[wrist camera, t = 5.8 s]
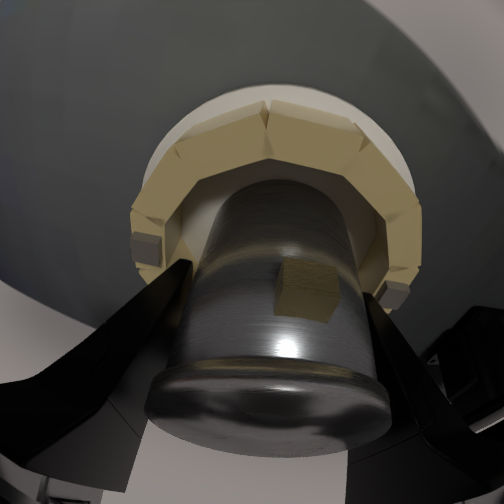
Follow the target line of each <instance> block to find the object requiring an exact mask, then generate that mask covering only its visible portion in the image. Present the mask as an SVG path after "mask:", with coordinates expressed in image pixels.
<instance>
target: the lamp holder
mask: <svg viewBox="0 0 504 504" xmlns="http://www.w3.org/2000/svg"><path fill="white" fill-rule="evenodd" d="M274 179H281V180H292V181H297V182H301V183H304V184H307V185H309V186H312V187H314V188H316V189H317V190H319V191H321V192H323V193H324V194H325V195H326V196H328V197H329V198H330V199H331V200H332V201H333V202H334V203H335V204H336V206H337V207H338V209H339V210H340V212H341V214H342V216H343V218H344V221H345V224H346V227H347V231H348V235H349V239H350V243H351V246H352V250H353V254H354V258H355V263H356V267H357V271H358V275H359V280H360V284H361V289H362V292H368V293H371V294H372V295H373V296H374V298H375V299H376V300H377V301H378V303H379V304H380V305H381V307H382V308H383V309H384V311H385V312H386V313H388V314H389V313H390V311H391V310H392V309H394V310H398V309H399V307H400V306H401V305H402V303H403V302H404V300H405V299H406V298H407V296H408V295H409V294H410V289H409V285H410V283H411V282H412V281H413V279H414V278H415V276H416V275H417V273H418V272H419V269H418V267H417V266H421V248H422V213H421V206H420V204H419V203H418V201H419V200H418V198H417V197H416V196H415V189H414V185H413V181H412V178H411V174H410V171H409V169H408V167H407V165H406V162H405V160H404V158H403V156H402V154H401V153H400V151H399V150H398V148H397V147H396V145H395V144H394V143H393V141H392V140H391V138H390V137H389V136H388V135H387V134H386V133H385V132H384V131H383V130H382V129H381V128H380V127H379V126H378V125H377V124H376V123H375V122H374V121H373V120H372V119H371V118H370V117H369V116H367V115H366V114H365V113H364V112H362V111H361V110H359V109H358V108H357V107H355V106H354V105H352V104H351V103H349V102H348V101H346V100H344V99H342V98H340V97H338V96H336V95H334V94H332V93H329V92H326V91H323V90H320V89H317V88H314V87H310V86H304V85H299V84H292V83H263V84H255V85H248V86H244V87H241V88H237V89H234V90H230V91H227V92H225V93H223V94H221V95H218V96H216V97H214V98H212V99H210V100H208V101H207V102H205V103H204V104H202V105H201V106H199V107H198V108H196V109H195V110H193V111H192V112H191V113H189V114H188V115H187V116H185V117H184V118H183V119H182V120H181V121H180V122H179V123H178V124H177V125H175V126H174V127H173V128H172V129H171V130H170V131H169V132H168V134H167V135H166V136H165V137H164V139H163V140H162V141H161V143H160V144H159V145H158V147H157V148H156V150H155V152H154V154H153V156H152V158H151V160H150V161H149V164H148V167H147V170H146V173H145V175H144V179H143V184H142V190H141V192H140V193H139V195H138V197H137V198H136V200H135V202H134V203H133V205H132V207H131V208H133V210H132V211H131V213H130V219H131V229H132V235H131V237H130V246H131V254H132V261H134V262H136V267H137V268H140V270H139V274H140V275H141V276H142V278H143V279H144V280H145V282H146V283H147V284H150V283H151V282H152V281H153V280H154V279H155V278H157V277H158V276H159V275H160V274H161V273H163V272H164V271H165V270H166V269H167V268H169V267H170V266H171V265H172V264H173V263H175V262H176V261H177V260H178V259H180V258H183V259H188V260H191V261H192V262H193V279H194V276H195V273H196V270H197V267H198V264H199V261H200V258H201V256H202V253H203V250H204V247H205V244H206V241H207V239H208V236H209V233H210V230H211V227H212V225H213V222H214V219H215V216H216V214H217V212H218V210H219V208H220V207H221V206H222V204H223V203H224V202H225V201H226V200H227V199H228V198H229V197H230V196H231V195H232V194H234V193H235V192H236V191H238V190H240V189H241V188H243V187H245V186H247V185H250V184H253V183H256V182H260V181H265V180H274ZM192 282H193V280H192Z"/></svg>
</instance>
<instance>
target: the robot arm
mask: <svg viewBox="0 0 504 504" xmlns="http://www.w3.org/2000/svg"><path fill="white" fill-rule="evenodd" d="M192 280H193V262H192V261H191V260H188V259H183V258H180V259H178V260H177V261H176V262H175V263H173V264H172V265H171V266H170V267H169V268H167V269H166V270H165V271H164V272H163V273H161V274H160V275H159V276H158V277H157V278H155V279H154V280H153V281H152V282H151V283H150V284H148V285H147V286H146V287H145V288H144V289H142V290H141V291H140V292H139V293H138V294H137V295H135V296H134V297H133V298H132V299H131V300H130V301H129V302H127V303H126V304H125V305H124V306H123V307H122V308H120V309H119V310H118V311H117V312H116V313H115V314H114V315H113V316H111V317H110V318H109V319H108V320H107V321H106V323H103V324H102V325H101V326H100V327H99V328H98V329H97V330H95V331H94V332H93V333H92V334H91V335H90V336H89V337H87V338H86V339H85V340H84V341H83V342H81V343H80V344H79V345H77V346H76V347H74V348H73V349H72V350H71V351H69V352H68V353H67V354H65V355H64V356H62V357H61V358H60V359H58V360H57V361H55V362H54V363H53V364H51V365H50V366H49V367H47V368H46V369H44V370H43V371H42V372H40V373H39V374H37V375H35V376H33V377H31V378H28V379H25V380H20V381H14V382H9V383H2V384H0V504H100V503H101V499H102V494H103V490H109V491H116V492H123V493H125V490H126V487H127V484H128V480H129V477H130V474H131V471H132V468H133V464H134V461H135V458H136V455H137V452H138V449H139V446H140V442H141V439H142V436H143V433H144V430H145V427H146V424H147V421H148V418H147V416H146V415H145V412H144V405H145V402H146V399H147V395H148V392H149V388H150V385H151V382H152V380H153V378H154V377H155V376H156V375H157V374H158V373H160V372H161V371H163V370H165V368H166V364H167V361H168V358H169V354H170V351H171V348H172V344H173V341H174V338H175V335H176V331H177V328H178V325H179V322H180V319H181V316H182V312H183V309H184V306H185V303H186V300H187V297H188V294H189V291H190V288H191V285H192ZM362 293H363V298H364V303H365V308H366V313H367V318H368V324H369V329H370V335H371V340H372V346H373V353H374V359H375V366H376V373H377V380H378V382H380V383H381V384H382V385H383V386H384V387H385V388H386V390H387V392H388V394H389V401H390V409H391V418H392V425H391V427H390V429H389V430H388V431H387V432H386V433H385V434H383V435H382V436H381V437H379V438H377V439H375V440H374V441H371V442H369V443H367V444H364V445H362V446H359V447H356V448H352V449H349V450H348V466H347V482H346V497H345V504H504V420H502V421H500V422H498V423H497V424H495V425H493V426H491V427H489V428H487V429H485V430H483V431H481V432H479V433H475V432H476V431H478V430H480V429H482V428H484V427H486V426H488V425H490V424H492V423H493V422H495V421H497V420H499V419H501V418H502V417H504V310H502V309H495V308H489V307H483V306H477V307H475V308H473V309H472V310H471V311H470V313H469V314H468V315H467V316H466V317H465V318H464V319H463V320H462V322H461V323H460V324H459V325H458V326H457V327H456V328H455V329H454V330H453V331H452V332H451V333H450V334H449V336H448V337H447V338H446V339H445V340H444V341H443V342H442V343H441V344H440V345H439V346H438V347H437V348H436V349H435V350H434V351H433V352H432V353H430V354H429V355H428V356H427V357H426V362H427V364H429V365H440V369H441V373H442V377H443V381H444V385H445V390H446V395H447V398H446V397H445V396H444V394H443V393H442V392H441V390H440V389H439V387H438V386H437V384H436V383H435V382H434V380H433V379H432V377H431V376H430V374H429V373H428V372H426V371H427V370H426V368H425V367H424V365H423V364H422V362H421V361H420V359H419V358H418V357H417V355H416V354H415V352H414V351H413V349H412V348H411V347H410V345H409V344H408V342H407V341H406V339H405V338H404V337H403V335H402V334H401V333H400V331H399V330H398V328H397V327H396V326H395V324H394V323H393V322H392V320H391V319H390V317H389V316H388V315H387V313H386V312H385V311H384V309H383V308H382V307H381V305H380V304H379V303H378V301H377V300H376V299H375V298H374V296H373V295H372V294H371V293H368V292H362ZM447 399H448V400H447ZM450 402H451V404H450Z"/></svg>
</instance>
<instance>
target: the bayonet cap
mask: <svg viewBox="0 0 504 504" xmlns="http://www.w3.org/2000/svg"><path fill="white" fill-rule="evenodd" d="M144 412H145V415H146V416H147V418H148V419H149V420H150V421H151V422H152V423H154V424H155V425H156V426H158V427H159V428H161V429H162V430H164V431H166V432H167V433H169V434H171V435H173V436H176V437H178V438H180V439H183V440H185V441H188V442H191V443H194V444H196V445H200V446H203V447H206V448H211V449H214V450H219V451H223V452H228V453H234V454H240V455H248V456H258V457H276V458H277V457H278V458H281V457H282V458H289V457H308V456H318V455H325V454H331V453H336V452H341V451H345V450H349V449H352V448H356V447H359V446H362V445H364V444H367V443H369V442H371V441H374V440H375V439H377V438H379V437H381V436H382V435H383V434H385V433H386V432H387V431H388V430H389V429H390V427H391V425H392V418H391V409H390V401H389V394H388V392H387V390H386V388H385V387H384V386H383V385H382V384H381V383H380V382H378V380H377V373H376V366H375V359H374V353H373V346H372V340H371V335H370V329H369V324H368V318H367V313H366V308H365V303H364V298H363V293H362V289H361V284H360V280H359V275H358V271H357V267H356V263H355V258H354V254H353V250H352V246H351V243H350V239H349V235H348V231H347V227H346V224H345V221H344V218H343V216H342V214H341V212H340V210H339V209H338V207H337V206H336V204H335V203H334V202H333V201H332V200H331V199H330V198H329V197H328V196H326V195H325V194H324V193H323V192H321V191H319V190H317V189H316V188H314V187H312V186H309V185H307V184H304V183H301V182H297V181H292V180H281V179H274V180H265V181H260V182H256V183H253V184H250V185H247V186H245V187H243V188H241V189H240V190H238V191H236V192H235V193H234V194H232V195H231V196H230V197H229V198H228V199H227V200H226V201H225V202H224V203H223V204H222V206H221V207H220V208H219V210H218V212H217V214H216V216H215V219H214V222H213V225H212V227H211V230H210V233H209V236H208V239H207V241H206V244H205V247H204V250H203V253H202V256H201V258H200V261H199V264H198V267H197V270H196V273H195V276H194V279H193V282H192V285H191V288H190V291H189V294H188V297H187V300H186V303H185V306H184V309H183V312H182V316H181V319H180V322H179V325H178V328H177V331H176V335H175V338H174V341H173V344H172V348H171V351H170V354H169V358H168V361H167V364H166V368H165V370H163V371H161V372H160V373H158V374H157V375H156V376H155V377H154V378H153V380H152V382H151V385H150V388H149V392H148V395H147V399H146V402H145V405H144Z"/></svg>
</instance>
